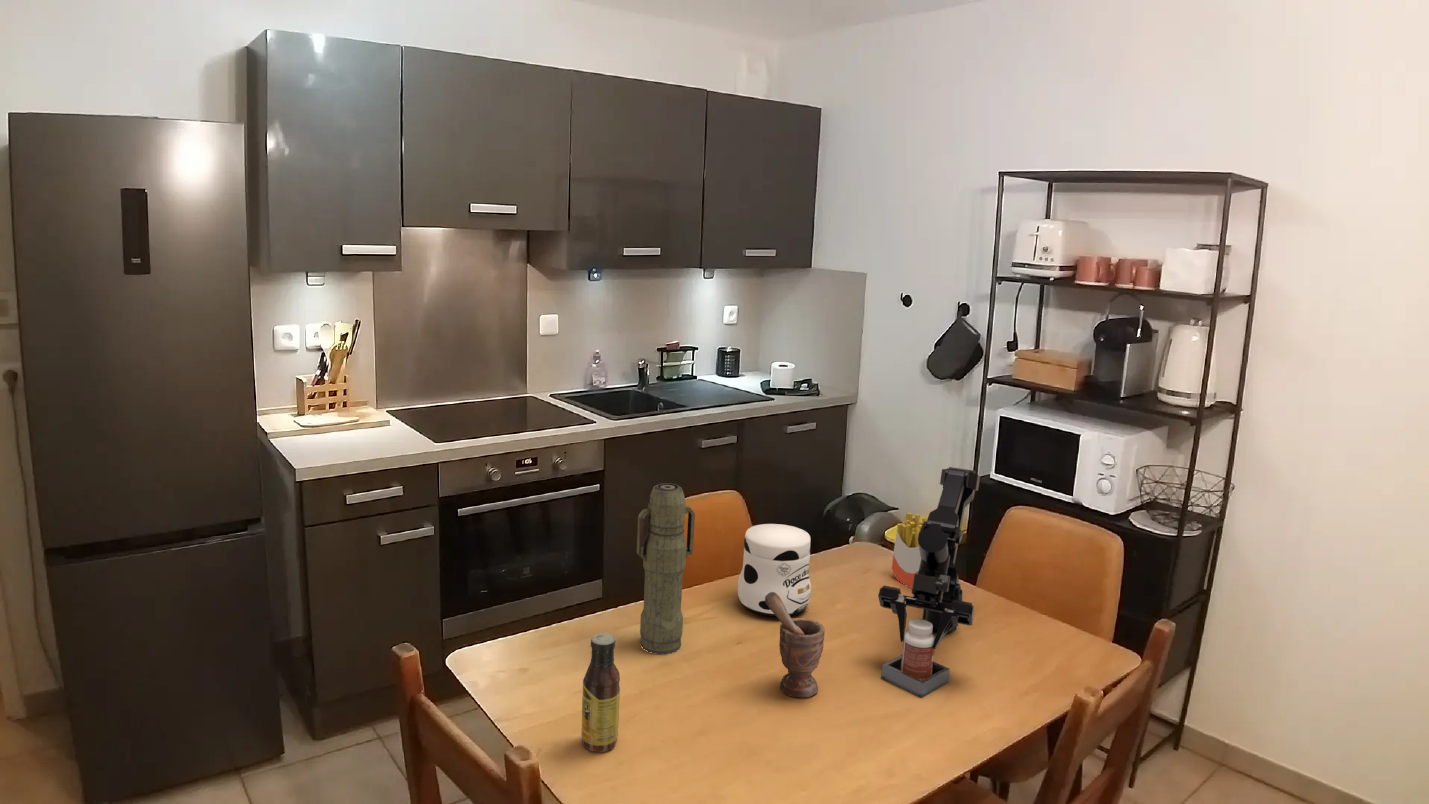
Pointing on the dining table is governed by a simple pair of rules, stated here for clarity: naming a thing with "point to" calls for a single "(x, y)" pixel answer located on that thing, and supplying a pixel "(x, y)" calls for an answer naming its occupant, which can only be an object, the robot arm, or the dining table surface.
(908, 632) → the pill bottle
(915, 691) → the gray open box
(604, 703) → the sauce bottle
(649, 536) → the thermos
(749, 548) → the milk container
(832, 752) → the dining table surface
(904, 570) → the french fries container
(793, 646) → the mortar and pestle
